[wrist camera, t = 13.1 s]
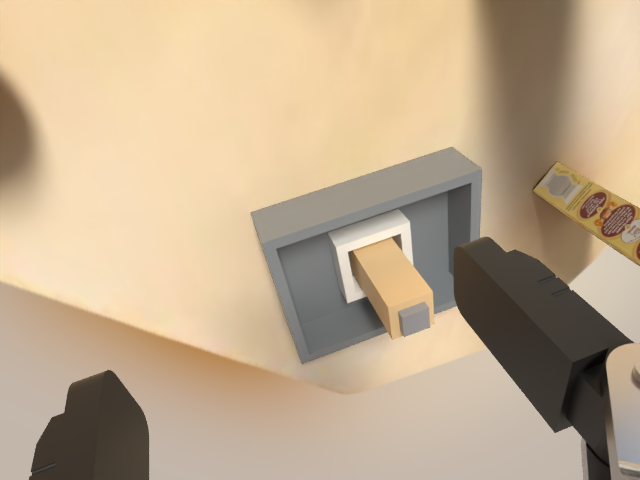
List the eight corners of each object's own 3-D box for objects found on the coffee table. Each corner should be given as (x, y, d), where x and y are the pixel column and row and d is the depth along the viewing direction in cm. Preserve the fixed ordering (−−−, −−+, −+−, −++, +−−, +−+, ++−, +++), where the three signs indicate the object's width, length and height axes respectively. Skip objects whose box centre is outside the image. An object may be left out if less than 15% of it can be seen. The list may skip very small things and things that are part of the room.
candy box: (529, 191, 50) (650, 276, 38) (557, 158, 48) (691, 236, 36) (572, 218, 54) (692, 302, 42) (598, 188, 53) (730, 267, 41)
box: (452, 146, 44) (482, 169, 40) (453, 270, 53) (477, 298, 49) (250, 212, 41) (261, 243, 37) (290, 329, 51) (301, 364, 47)
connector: (383, 227, 46) (437, 297, 37) (387, 257, 48) (438, 330, 40) (346, 240, 45) (392, 314, 37) (351, 270, 47) (396, 346, 39)
